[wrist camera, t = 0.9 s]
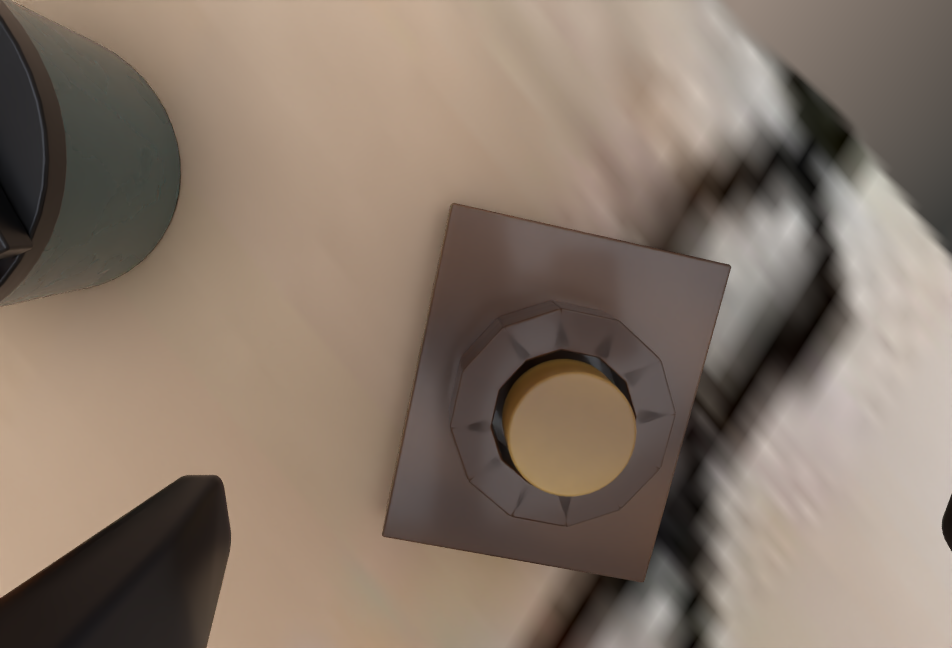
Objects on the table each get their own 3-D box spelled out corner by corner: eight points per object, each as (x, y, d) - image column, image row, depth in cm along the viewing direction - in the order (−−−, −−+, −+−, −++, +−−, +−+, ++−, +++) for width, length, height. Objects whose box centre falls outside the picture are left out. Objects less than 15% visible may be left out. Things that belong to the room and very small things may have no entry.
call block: (630, 558, 24) (662, 614, 21) (385, 514, 24) (376, 565, 20) (711, 261, 23) (759, 270, 19) (450, 203, 22) (453, 201, 19)
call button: (604, 483, 21) (619, 508, 19) (489, 461, 20) (494, 485, 19) (633, 371, 20) (651, 386, 18) (516, 347, 20) (524, 360, 18)
